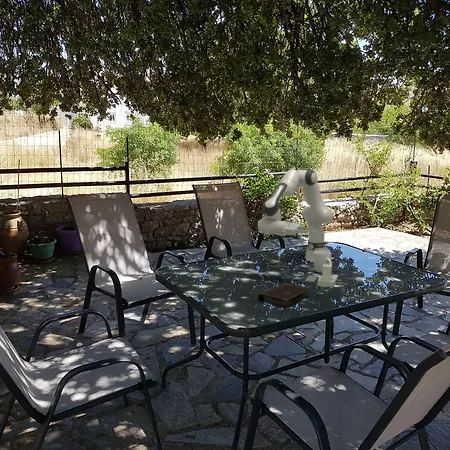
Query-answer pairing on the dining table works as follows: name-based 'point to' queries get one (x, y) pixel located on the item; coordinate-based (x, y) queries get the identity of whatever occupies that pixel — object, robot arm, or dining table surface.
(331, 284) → the green desk organizer
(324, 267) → the charger
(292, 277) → the dining table surface
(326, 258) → the mug
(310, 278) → the phone
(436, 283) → the dining table surface
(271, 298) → the diary
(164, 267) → the dining table surface
